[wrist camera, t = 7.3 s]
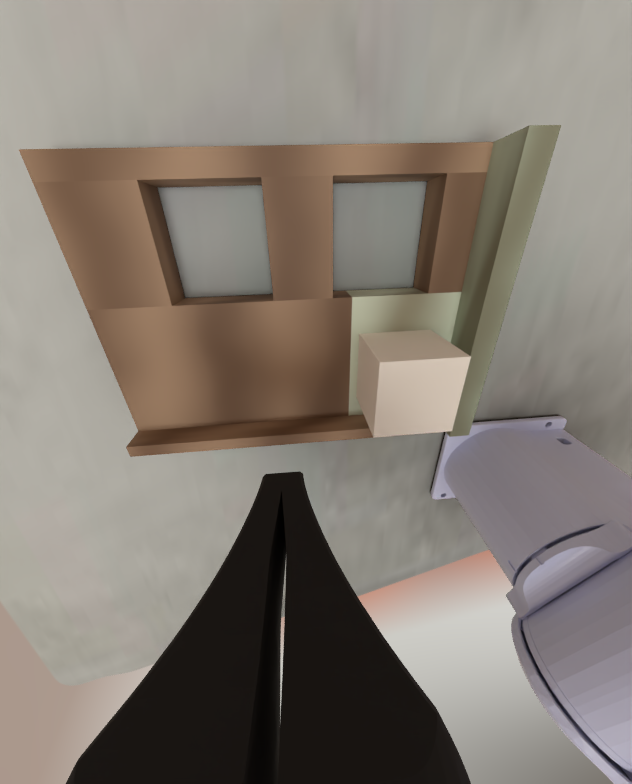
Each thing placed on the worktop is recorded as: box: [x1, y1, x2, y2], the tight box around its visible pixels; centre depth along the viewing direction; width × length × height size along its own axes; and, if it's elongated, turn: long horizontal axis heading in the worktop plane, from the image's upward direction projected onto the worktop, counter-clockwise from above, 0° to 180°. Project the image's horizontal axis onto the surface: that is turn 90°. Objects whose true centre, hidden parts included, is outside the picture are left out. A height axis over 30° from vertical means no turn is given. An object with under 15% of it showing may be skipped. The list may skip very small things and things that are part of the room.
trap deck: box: [19, 125, 561, 457], centre depth 15 cm, size 20×14×4 cm
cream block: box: [356, 330, 471, 437], centre depth 15 cm, size 4×4×4 cm
